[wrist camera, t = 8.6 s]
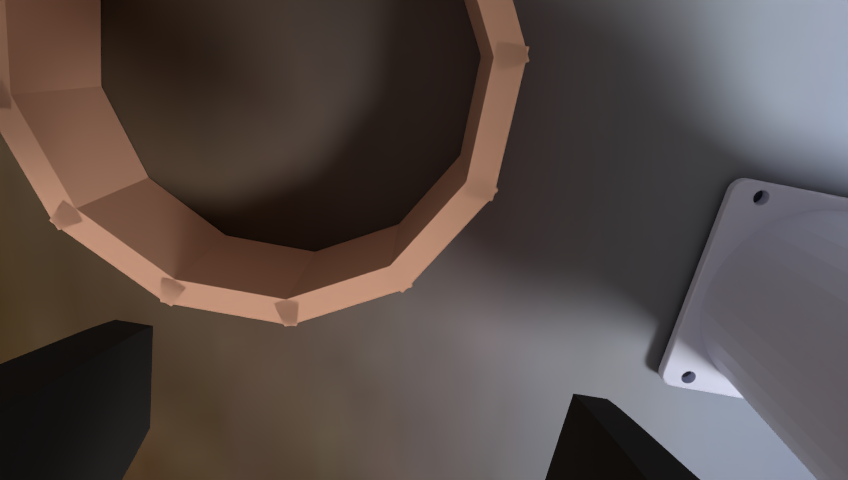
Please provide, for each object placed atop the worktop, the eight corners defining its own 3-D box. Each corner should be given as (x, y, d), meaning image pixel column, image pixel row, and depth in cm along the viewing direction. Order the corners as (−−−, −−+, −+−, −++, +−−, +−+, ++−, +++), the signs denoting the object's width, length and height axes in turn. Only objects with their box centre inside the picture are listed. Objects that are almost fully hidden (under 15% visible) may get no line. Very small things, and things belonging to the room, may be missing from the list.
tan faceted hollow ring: (551, -129, 16) (589, -188, 12) (453, 300, 20) (458, 357, 16) (66, -234, 15) (-58, -331, 11) (76, 231, 19) (-10, 274, 16)
